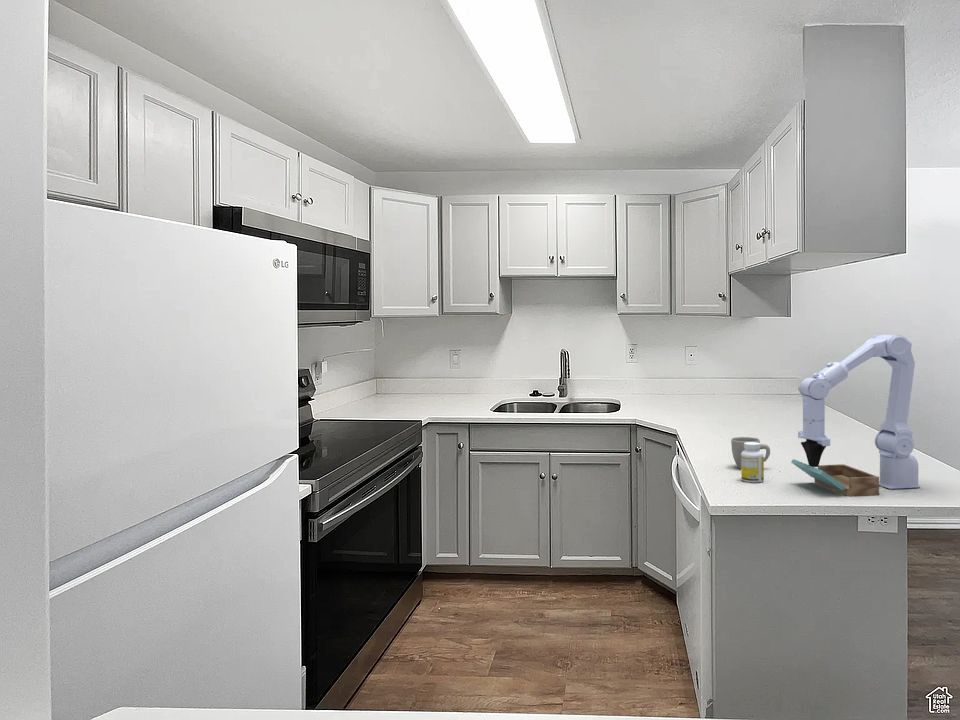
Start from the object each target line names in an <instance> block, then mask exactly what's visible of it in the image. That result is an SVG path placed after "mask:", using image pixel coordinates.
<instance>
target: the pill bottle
mask: <svg viewBox="0 0 960 720" xmlns="http://www.w3.org/2000/svg"><path fill="white" fill-rule="evenodd" d="M760 444H761V442H760V443H757V442H746V443H744V448H745V450H744V451H743V452H742V453H741V469H740V474H741V475H740V476H741V481H743V482H745V483H751V482H752V483H753V484H755V483H762V482H764V480H765V478H764V477H765V469H764V468H765V467H764V466H765V462H764V457H765V454H764V453H763V452H762V451H761V449H759V448H760ZM752 483H751V484H752Z"/></svg>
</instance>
